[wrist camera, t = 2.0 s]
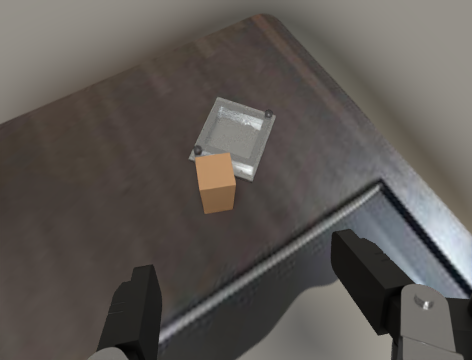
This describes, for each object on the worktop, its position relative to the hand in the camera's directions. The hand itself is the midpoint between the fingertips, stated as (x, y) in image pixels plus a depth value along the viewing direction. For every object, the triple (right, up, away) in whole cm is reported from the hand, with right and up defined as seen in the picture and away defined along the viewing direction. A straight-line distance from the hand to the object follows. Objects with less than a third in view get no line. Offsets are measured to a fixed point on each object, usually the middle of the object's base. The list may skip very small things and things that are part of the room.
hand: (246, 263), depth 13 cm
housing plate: (-1, +10, +32) cm, 34 cm away
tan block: (-3, +1, +28) cm, 29 cm away
